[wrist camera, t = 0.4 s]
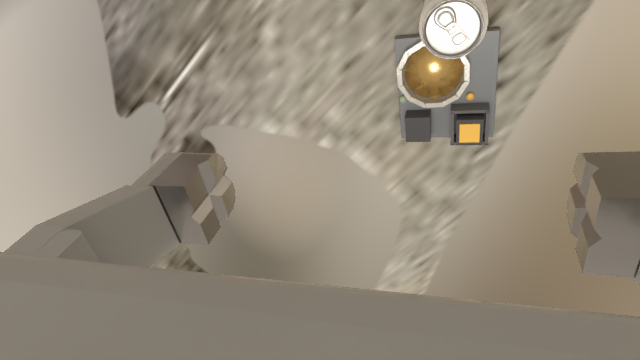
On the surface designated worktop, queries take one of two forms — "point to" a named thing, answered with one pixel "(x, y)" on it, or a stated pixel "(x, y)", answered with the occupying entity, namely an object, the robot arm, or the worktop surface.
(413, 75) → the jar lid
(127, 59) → the worktop surface
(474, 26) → the can
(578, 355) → the robot arm
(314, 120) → the worktop surface
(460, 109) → the panel
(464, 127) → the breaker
